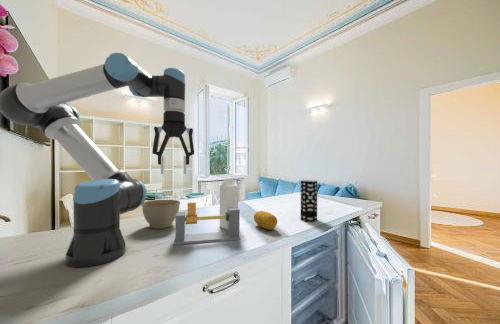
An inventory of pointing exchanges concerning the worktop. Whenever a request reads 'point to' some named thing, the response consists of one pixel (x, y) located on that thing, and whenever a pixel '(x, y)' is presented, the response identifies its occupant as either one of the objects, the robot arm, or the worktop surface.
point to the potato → (265, 220)
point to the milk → (227, 198)
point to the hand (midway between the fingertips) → (173, 173)
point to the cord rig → (231, 233)
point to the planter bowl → (160, 212)
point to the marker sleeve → (191, 214)
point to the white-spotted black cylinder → (309, 201)
